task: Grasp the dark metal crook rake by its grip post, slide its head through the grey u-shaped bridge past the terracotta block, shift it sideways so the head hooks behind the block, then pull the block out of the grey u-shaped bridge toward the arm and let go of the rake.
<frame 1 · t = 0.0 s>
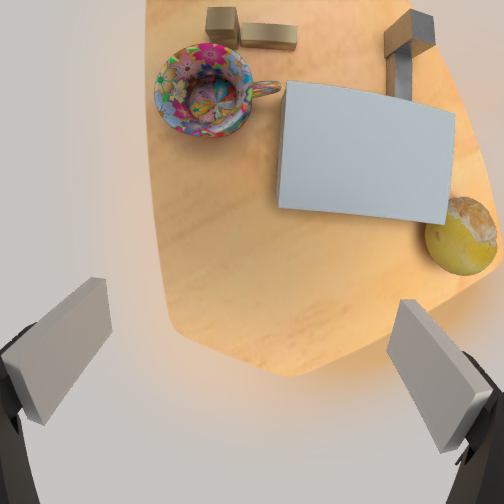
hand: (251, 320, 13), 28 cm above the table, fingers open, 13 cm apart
mug: (228, 103, 36), on the table
l-shaped tan bracket: (227, 38, 34), on the table
grey u-shaped bridge: (355, 154, 38), on the table
crook: (394, 47, 33), on the table
fruit: (443, 226, 40), on the table
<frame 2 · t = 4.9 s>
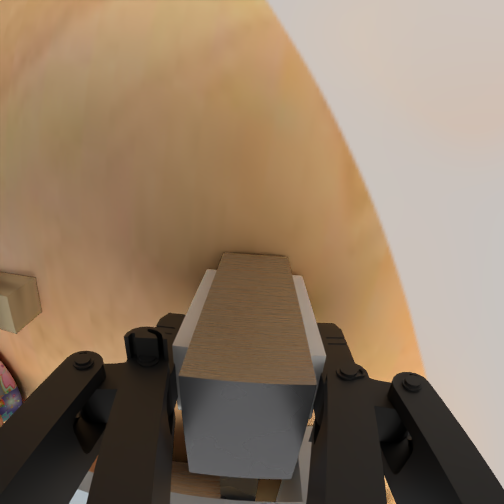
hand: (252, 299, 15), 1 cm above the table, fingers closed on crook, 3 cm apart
mug: (2, 374, 20), on the table
grey u-shaped bridge: (176, 462, 21), on the table
crook: (252, 293, 16), point 1 cm above the table, touching gripper
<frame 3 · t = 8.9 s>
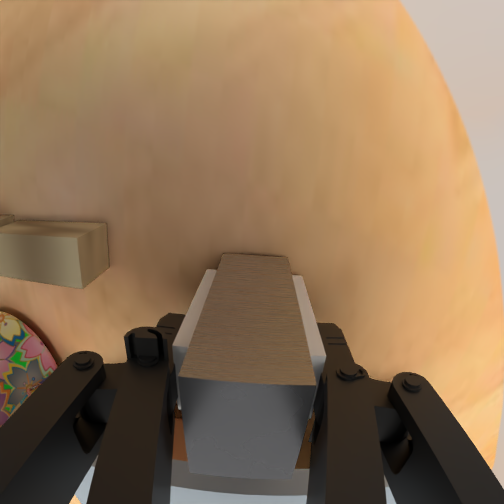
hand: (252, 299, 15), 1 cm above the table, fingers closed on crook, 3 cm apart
mug: (36, 357, 19), on the table
block: (183, 440, 20), on the table, touching crook
l-shaped tan bracket: (1, 238, 16), on the table
grey u-shaped bridge: (253, 445, 20), on the table
crook: (252, 294, 16), on the table, touching block, gripper
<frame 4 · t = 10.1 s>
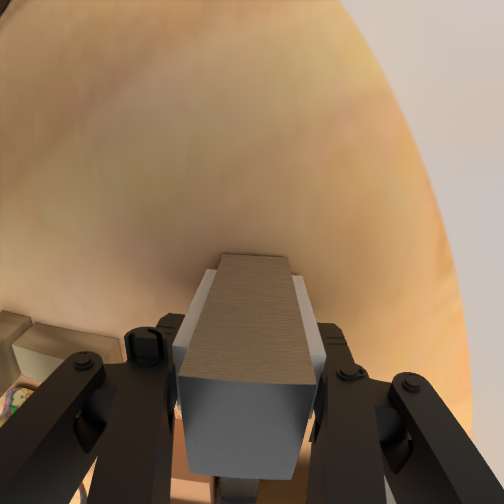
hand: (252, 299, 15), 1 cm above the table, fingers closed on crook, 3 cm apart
mug: (61, 421, 20), on the table
block: (184, 441, 20), on the table
l-shaped tan bracket: (20, 332, 18), on the table
crook: (252, 294, 16), on the table, touching gripper
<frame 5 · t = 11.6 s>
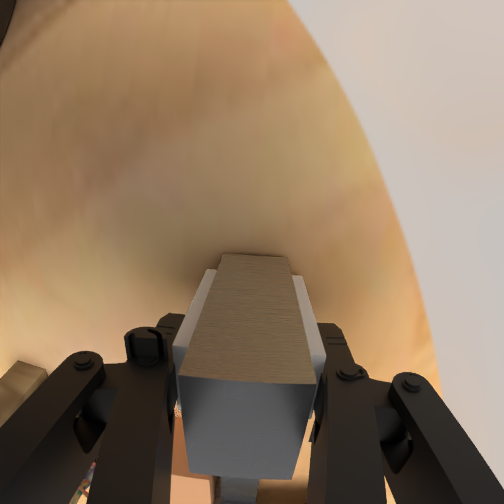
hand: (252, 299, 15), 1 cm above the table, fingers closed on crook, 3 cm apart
mug: (74, 450, 22), on the table
block: (184, 438, 20), on the table, touching crook
l-shaped tan bracket: (36, 380, 19), on the table
crook: (252, 294, 16), point 1 cm above the table, touching block, gripper
when the fingers open (0 cm above the table, at t = 13.2 s): crook stays where it is, on the table.
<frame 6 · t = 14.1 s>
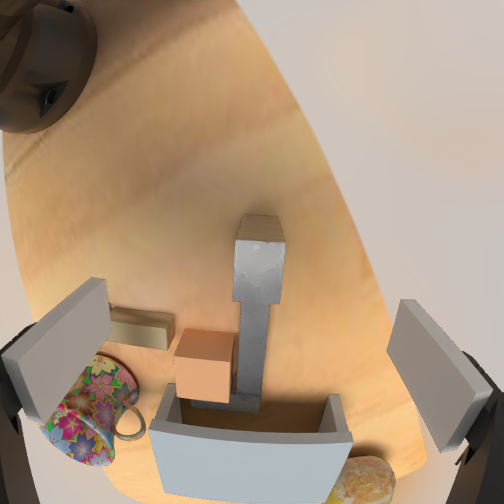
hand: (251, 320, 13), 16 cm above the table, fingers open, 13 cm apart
mug: (118, 379, 34), on the table
block: (209, 351, 32), on the table
l-shaped tan bracket: (100, 314, 31), on the table
grey u-shaped bridge: (250, 427, 35), on the table
crook: (260, 237, 28), on the table
fruit: (351, 460, 37), on the table
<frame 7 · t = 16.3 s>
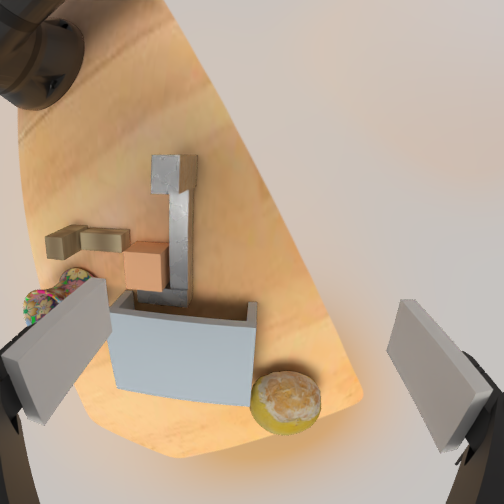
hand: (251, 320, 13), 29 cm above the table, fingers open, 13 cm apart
mug: (90, 290, 45), on the table
block: (154, 259, 43), on the table
l-shaped tan bracket: (79, 235, 43), on the table
grey u-shaped bridge: (189, 332, 46), on the table
crook: (185, 170, 40), on the table
fruit: (283, 380, 49), on the table
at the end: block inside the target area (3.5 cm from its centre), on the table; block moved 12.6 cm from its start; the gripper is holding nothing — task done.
